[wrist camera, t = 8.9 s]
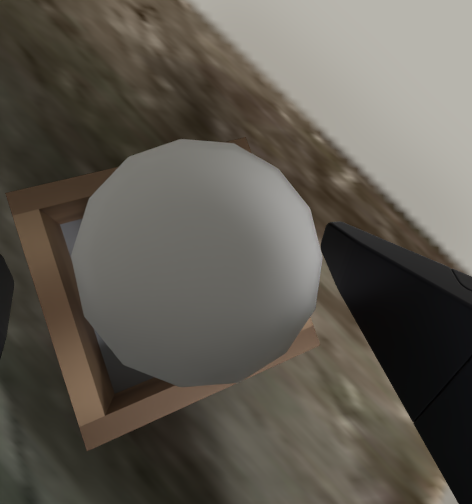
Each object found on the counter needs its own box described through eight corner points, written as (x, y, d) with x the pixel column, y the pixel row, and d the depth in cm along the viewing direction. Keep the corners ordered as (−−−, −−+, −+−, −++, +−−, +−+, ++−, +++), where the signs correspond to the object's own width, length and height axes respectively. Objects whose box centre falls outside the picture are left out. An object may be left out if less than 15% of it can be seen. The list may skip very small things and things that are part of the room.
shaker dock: (290, 336, 19) (320, 345, 16) (102, 417, 16) (86, 451, 13) (230, 165, 20) (245, 137, 16) (37, 214, 17) (5, 193, 13)
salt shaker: (95, 310, 16) (-127, 362, 4) (147, 213, 17) (119, 0, 5) (199, 355, 17) (312, 522, 4) (242, 259, 18) (422, 181, 6)
